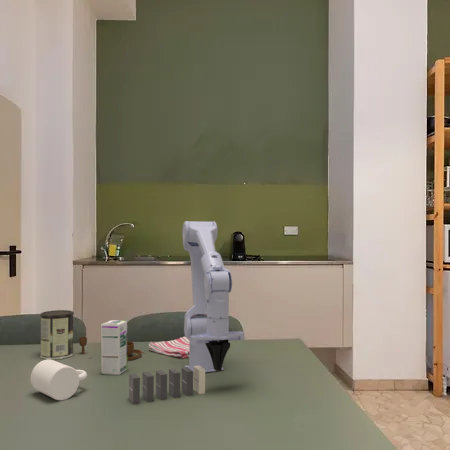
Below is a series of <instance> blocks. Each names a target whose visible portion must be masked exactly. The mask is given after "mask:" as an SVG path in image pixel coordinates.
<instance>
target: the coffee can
mask: <svg viewBox="0 0 450 450" xmlns="http://www.w3.org/2000/svg"><path fill="white" fill-rule="evenodd" d="M72 356H74V311H73V310H67V309H64V310H62V309H57V310H47V311H43V312H40V359H43V360H47V359H50V360H54V361H56V360H62V359H63V358H64V359H68V358H70V357H72Z"/></svg>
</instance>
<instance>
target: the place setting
mask: <svg viewBox="0 0 450 450" xmlns="http://www.w3.org/2000/svg"><path fill="white" fill-rule="evenodd" d="M78 341H79V346H80V347H81V349H80V350H81V355H85V351H86V349H85V346H87V343H88V337H87V336H81V337H79V338H78ZM132 354H135V355H133V356H131V355H132ZM142 354H147V353H145V352H143V351H142V350H140V349H135V343H134V342H133V341H128V340H127V362H130V361H135V360H138V359H139V358H141V356H142ZM88 359H91V357H89V358H88Z"/></svg>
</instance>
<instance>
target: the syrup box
mask: <svg viewBox="0 0 450 450" xmlns="http://www.w3.org/2000/svg"><path fill="white" fill-rule="evenodd" d="M100 339H101V340H100V344H101V346H100V347H101V348H100V349H101V351H100V353H101V367H100V368H101V370H100V371H101V374H103V375H113V376H120V375H121V374H123V373H124V372H126V371H127V370H129V369H128V367H129V365H128V361H127V341H128V320H122V319H115V320H114V319H113V320H109V321H106V322H104V323H101V325H100Z"/></svg>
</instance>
